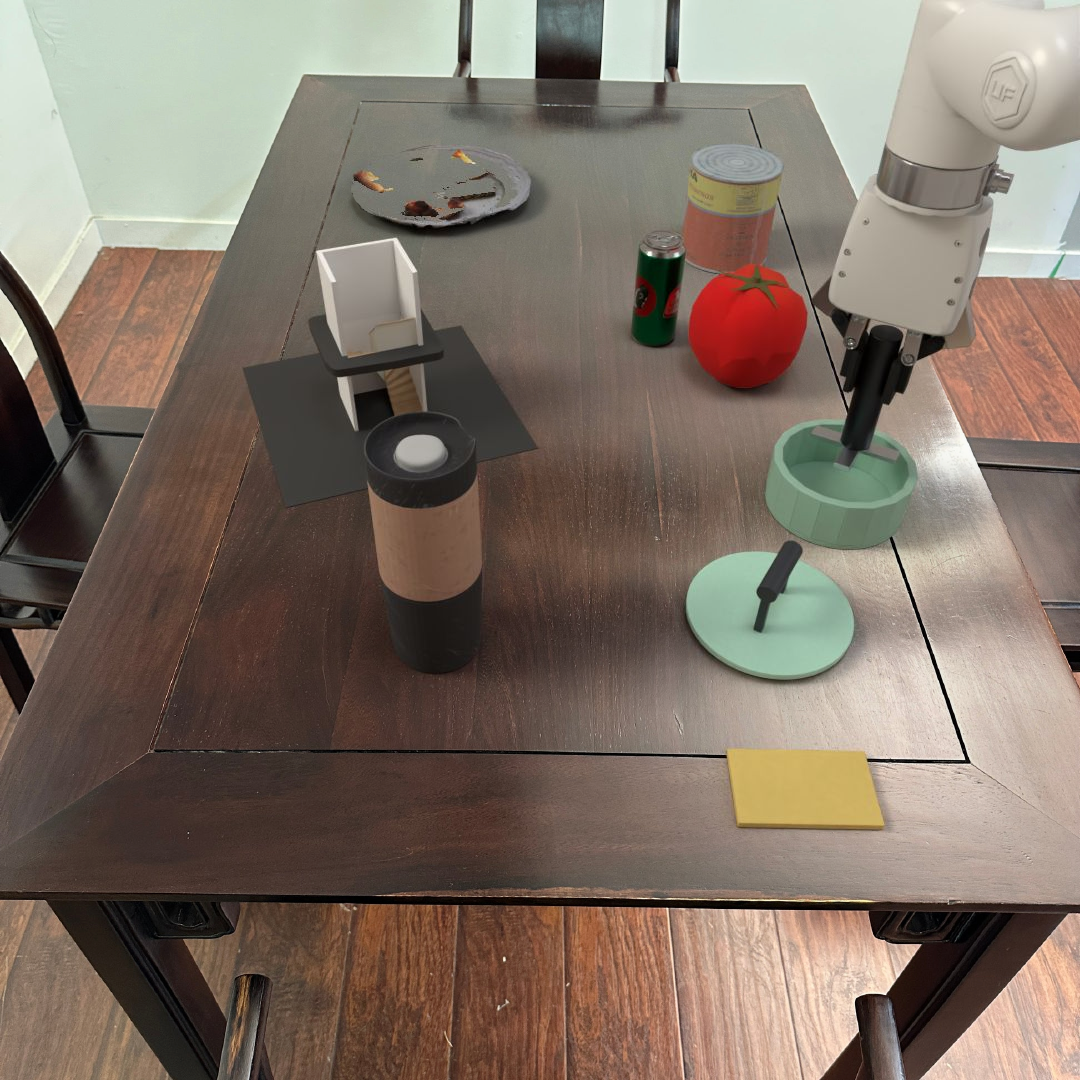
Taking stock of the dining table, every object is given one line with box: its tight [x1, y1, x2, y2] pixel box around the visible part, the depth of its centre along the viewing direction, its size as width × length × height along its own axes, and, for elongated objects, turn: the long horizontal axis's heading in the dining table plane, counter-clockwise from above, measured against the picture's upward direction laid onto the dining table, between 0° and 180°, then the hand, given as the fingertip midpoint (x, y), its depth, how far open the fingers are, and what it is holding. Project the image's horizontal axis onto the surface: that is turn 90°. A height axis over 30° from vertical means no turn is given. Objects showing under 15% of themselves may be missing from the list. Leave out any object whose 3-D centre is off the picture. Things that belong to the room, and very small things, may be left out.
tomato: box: [687, 264, 808, 389], centre depth 102 cm, size 12×13×12 cm
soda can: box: [630, 229, 686, 347], centre depth 107 cm, size 5×5×12 cm
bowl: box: [764, 418, 919, 550], centre depth 89 cm, size 13×13×5 cm
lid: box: [685, 540, 855, 681], centre depth 78 cm, size 14×14×6 cm
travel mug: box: [364, 411, 483, 674], centre depth 71 cm, size 8×8×20 cm
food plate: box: [352, 144, 532, 229], centre depth 135 cm, size 25×23×4 cm
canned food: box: [681, 142, 785, 275], centre depth 121 cm, size 11×11×12 cm
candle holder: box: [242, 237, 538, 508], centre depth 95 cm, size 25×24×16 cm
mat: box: [726, 748, 885, 831], centre depth 68 cm, size 10×6×1 cm, turn 89°
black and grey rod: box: [810, 324, 905, 472], centre depth 81 cm, size 8×8×12 cm
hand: (870, 388), depth 81 cm, fingers closed on black and grey rod, 2 cm apart
